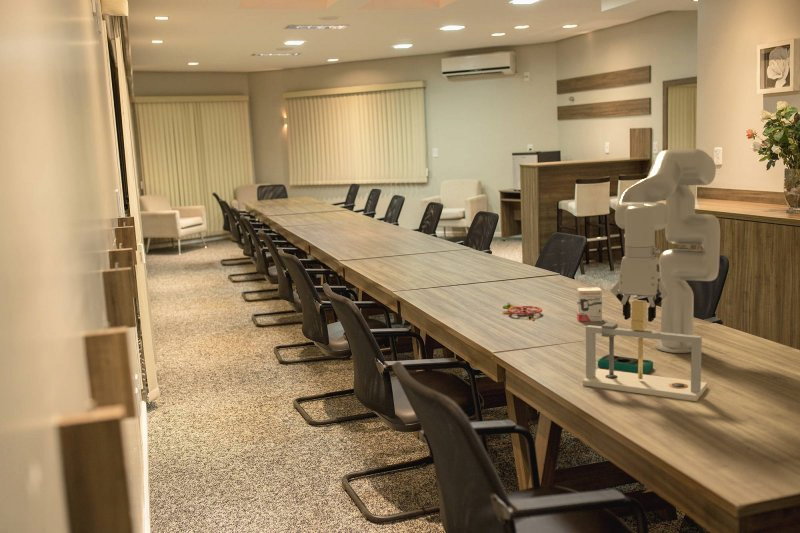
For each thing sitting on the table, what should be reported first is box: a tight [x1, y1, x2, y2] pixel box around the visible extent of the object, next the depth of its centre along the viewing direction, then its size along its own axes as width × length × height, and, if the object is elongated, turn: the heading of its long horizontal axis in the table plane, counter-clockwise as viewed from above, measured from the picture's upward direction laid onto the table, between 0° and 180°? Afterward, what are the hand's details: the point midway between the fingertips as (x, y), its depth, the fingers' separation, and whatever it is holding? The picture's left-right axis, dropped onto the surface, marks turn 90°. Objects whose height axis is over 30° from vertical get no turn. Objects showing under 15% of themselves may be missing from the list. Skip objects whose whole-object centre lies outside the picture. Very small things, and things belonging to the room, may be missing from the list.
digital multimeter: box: [597, 354, 654, 375], centre depth 232 cm, size 7×15×3 cm, turn 51°
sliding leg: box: [630, 299, 648, 379], centre depth 212 cm, size 4×3×22 cm
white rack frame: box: [582, 321, 708, 402], centre depth 213 cm, size 12×30×17 cm, turn 57°
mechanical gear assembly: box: [502, 302, 543, 322], centre depth 309 cm, size 30×4×15 cm
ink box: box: [576, 286, 603, 323], centre depth 291 cm, size 8×5×12 cm, turn 86°
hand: (639, 319), depth 211 cm, fingers open, 5 cm apart
